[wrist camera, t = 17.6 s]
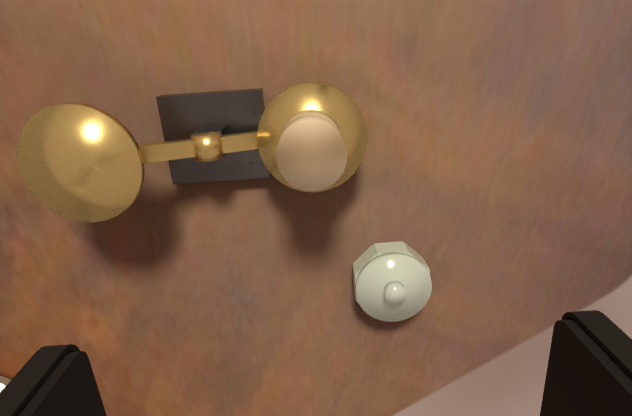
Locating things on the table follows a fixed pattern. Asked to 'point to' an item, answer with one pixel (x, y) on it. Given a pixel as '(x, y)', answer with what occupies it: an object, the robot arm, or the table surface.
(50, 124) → the balance
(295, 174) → the beige cylinder
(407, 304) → the lid
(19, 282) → the table surface
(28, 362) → the robot arm
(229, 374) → the table surface
